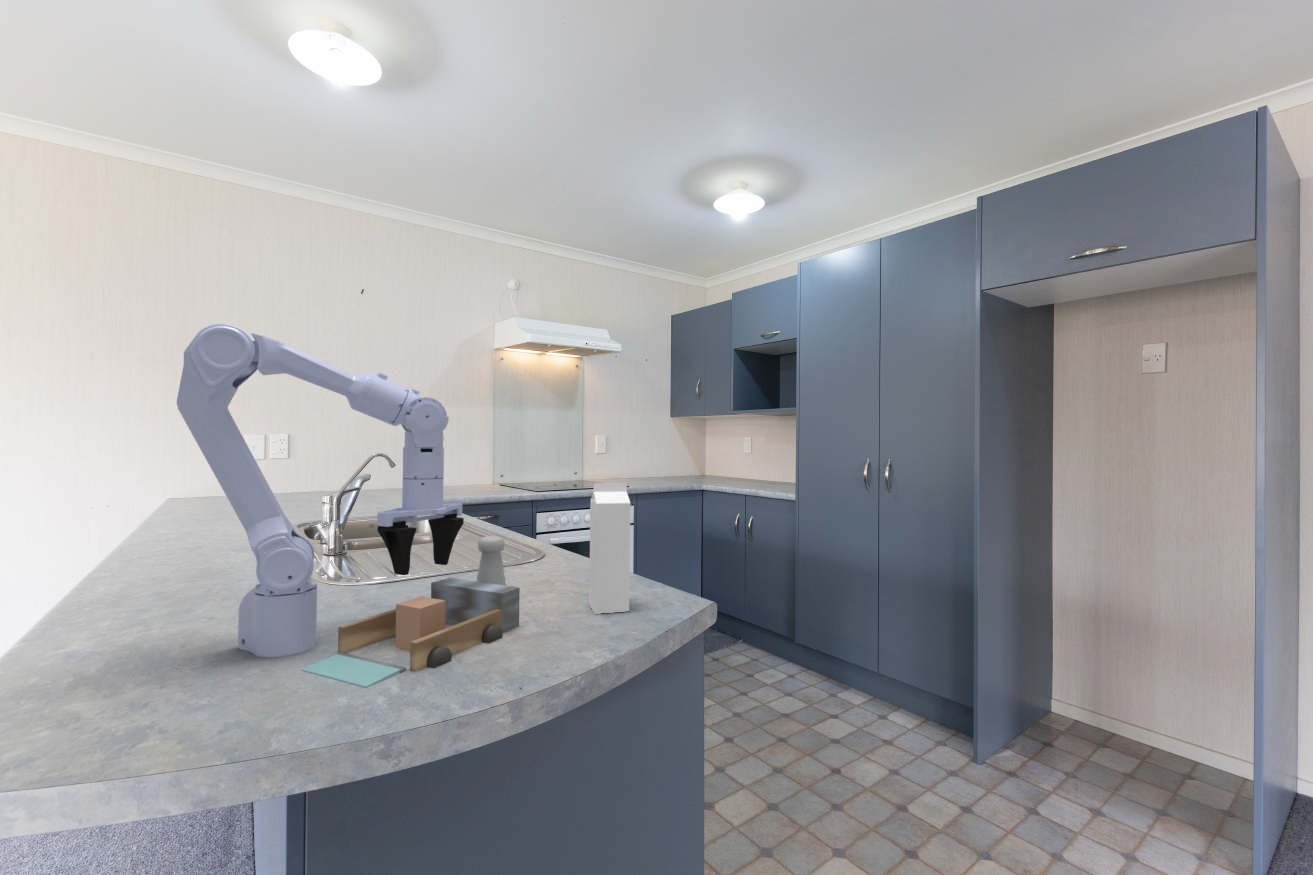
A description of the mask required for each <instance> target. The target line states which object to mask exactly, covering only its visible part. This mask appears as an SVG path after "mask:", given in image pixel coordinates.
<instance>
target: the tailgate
mask: <svg viewBox="0 0 1313 875" xmlns="http://www.w3.org/2000/svg"><path fill="white" fill-rule="evenodd" d="M300 671H302V672H305V673H309V674H313V675H317V676H319V677H324V678H328V679H331V680H335V681H339V682H342V683H346V684H350V685H354V686H358V687H360V688H361V687H362V688H365V689H367V688H369V687H372V686H374V685H376V684H379V683H381V682H383V681H385V680H387V679H388V680H389V679H390V678H392V677H394V676H395V677H396V676H397V675H399V674H402V673H404V672H406V671H407V668H406V667H404V666H401V665H397V664H391V663H390V662H389V663H388V662H385V661H380V660H376V659H371V658H366V657H363V656H360V655H359V656H358V655H355V654H350V653H342V652H339V653H338V652H337V653H335V654H334V655H332V656H329V657H326V658H324V659H322V660H319V661H316V662H315V663H312V664H311V665H308V666H307V665H306V667H303V668H300Z"/></svg>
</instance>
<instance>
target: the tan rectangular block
mask: <svg viewBox="0 0 1313 875" xmlns="http://www.w3.org/2000/svg"><path fill="white" fill-rule="evenodd" d="M445 604H446V600H440V599H434V598H431V597H428V596H419V597H415V598H413V599H409V600H406V601H402V602H399V603H396V604H395V609H396V635H395V644H394V645H395V646H394V647H395V648H398V649H401V650H402V649H403V650H406V651H410V642H412V641H414V640H417V639H420V638H422V637H425V636H427V635H430V634H433V633H435V632H438V631H441V630H443V629H446V623H445Z"/></svg>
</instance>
